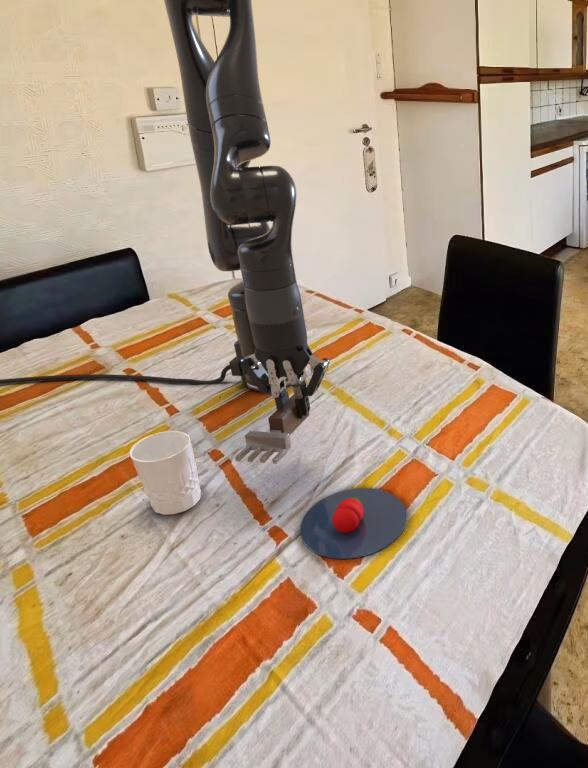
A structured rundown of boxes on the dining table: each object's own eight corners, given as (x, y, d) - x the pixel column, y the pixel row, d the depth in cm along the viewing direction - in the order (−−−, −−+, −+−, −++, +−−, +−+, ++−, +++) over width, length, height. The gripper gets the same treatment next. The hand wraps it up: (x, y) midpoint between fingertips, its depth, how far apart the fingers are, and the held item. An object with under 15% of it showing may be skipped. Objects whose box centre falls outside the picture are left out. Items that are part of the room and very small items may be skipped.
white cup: (186, 478, 99) (170, 425, 94) (216, 496, 95) (201, 441, 90) (137, 505, 93) (118, 449, 88) (167, 525, 89) (148, 468, 84)
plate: (282, 553, 84) (282, 552, 84) (323, 485, 97) (323, 484, 97) (390, 564, 82) (390, 563, 82) (417, 493, 95) (417, 492, 95)
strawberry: (333, 539, 86) (323, 518, 85) (346, 514, 91) (337, 493, 90) (358, 537, 86) (349, 516, 84) (370, 511, 90) (362, 490, 89)
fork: (285, 413, 101) (282, 393, 100) (320, 415, 100) (318, 395, 99) (235, 461, 86) (231, 438, 85) (276, 464, 86) (273, 441, 84)
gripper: (331, 305, 92) (345, 406, 100) (243, 301, 93) (263, 401, 102) (311, 324, 85) (328, 431, 93) (217, 320, 87) (241, 425, 95)
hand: (294, 415), depth 97 cm, fingers closed on fork, 2 cm apart
